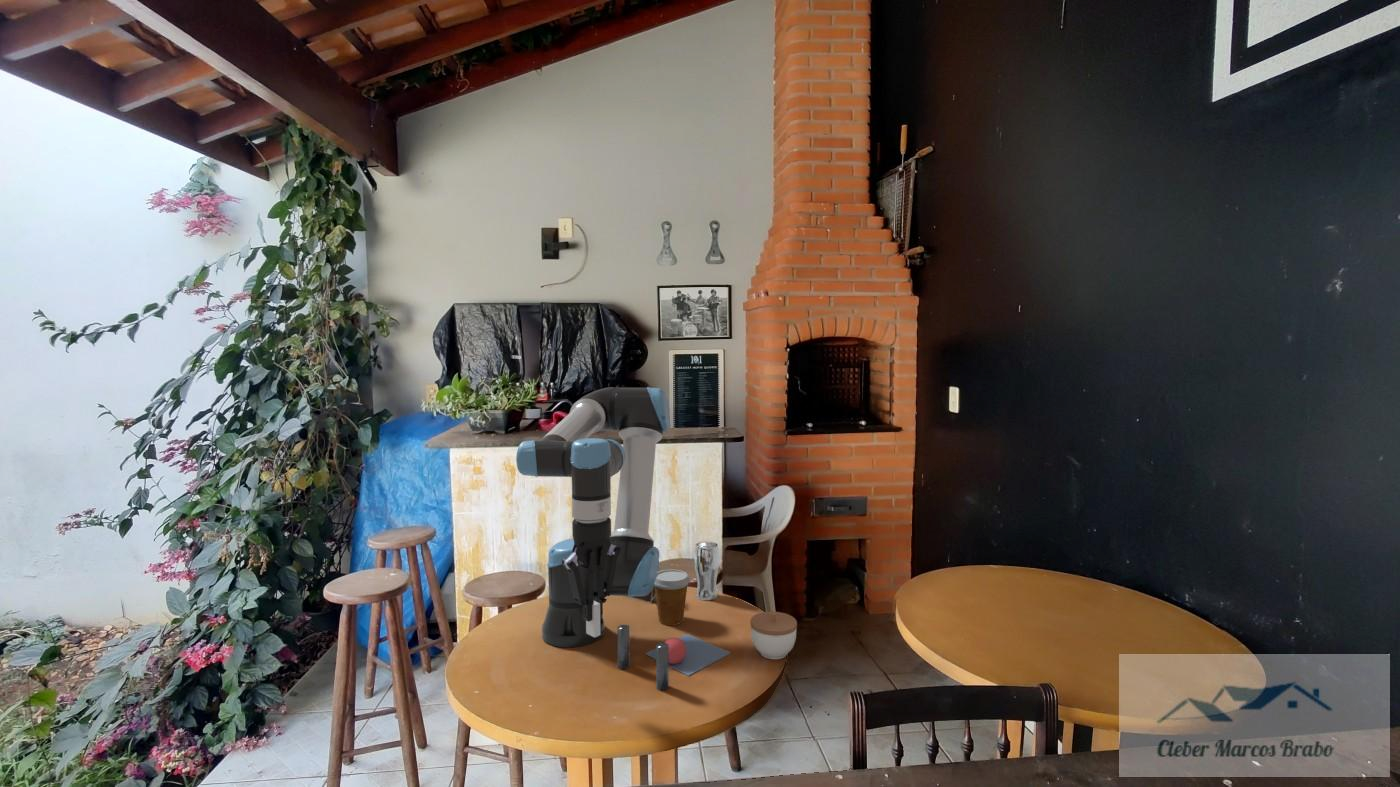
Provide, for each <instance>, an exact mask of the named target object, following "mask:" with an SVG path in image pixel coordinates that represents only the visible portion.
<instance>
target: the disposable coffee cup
mask: <svg viewBox="0 0 1400 787" xmlns="http://www.w3.org/2000/svg"><path fill="white" fill-rule="evenodd" d="M689 583H690V578H689V576H688V573H687V572H686V571H683V570H681V569H671V568H670V569H663V570H660V571H659V572H657V577H656V580H655V584H654V585H655V593H656V595H655V600H656V608H657V615H658V621H659V623H660V624H662V625H664V624H666V626H675V625H674V624H677V625H679V624H678V623H680V624H681V623H683V622H682V621H684V614H685V606H686V600H687V599H686V598H687V592H688V586H689Z"/></svg>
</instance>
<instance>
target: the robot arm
mask: <svg viewBox="0 0 1400 787" xmlns="http://www.w3.org/2000/svg"><path fill="white" fill-rule="evenodd" d="M669 411H670V410H669V404H668V399H667V395H666V392H665V391H664V390H663V389H661V388H659V387H649V386H647V387H615V386H614V387H613V386H611V387H610V386H609V387H604V388H600V389H597V390H594V391H592V392H590V393H588V394H585V395H584V396H581V398H579V399H578V400H577V401H575V402H574V403H573V405H572V406H571V408H570V410H569V413H568V414H567V415H566V416H565V417H564V418H562V420H561V421H559V422H558V423H557V424H556V425H555V426H553V428H552V429H551V430H549V431H548V433H546V434H545V435H544V436H543V437H542V438H541V439H540V440H535V439H532V440H524V441H522V442H521V443H520V444H519V445H518V447H517V450H516V451H517V452H516V457H515V458H516V460H515V461H516V462H515V463H516V468H517V471H518V473H520V474H521V475H523V476H530V477H531V476H532V477H536V478H538V477H546V478H547V477H551V478H552V477H555V478H556V477H557V478H558V477H559V478H566V477H567V478H571V517H572V519H573V520H572V521H571V522H572V523H571V524H572V527H571V528H572V533H571V534H572V537H571V538H567V539H564V540H561V541H559V542H557V543H555V544H554V545H552V546H551V547H550V549H549V551H548V560H547V562H548V563H547V570H548V571H547V573H548V574H547V576H548V579H547V580H548V606H547V610H546V614H545V617H544V620H543V624H542V625H541V626H542V627H541V638H542V639H543V641H544V642H545V643H547V644H548V645H551V646H556V647H561V648H572V647H573V648H575V647H581V646H585V645H589V644H592V643H593V642H596V641H598V640H599V639H601V637H603V635H604V634H605V621H604V618H603V613H604V606H603V605H604V604H605V603H606V602H607V598H606V597H610V596H621V597H626V596H629V597H628V598H630V597H633V596H646V595H648V594H649V593H650V592H651V590H652V589H653V586H654V584H655V580H656V577H657V572H658V567H659V568H660V566H659V565H660V550H659V548H658V547H656V546H654V542H655V541H654V539H653V538H652V537H651V535H650V533H649V529H650V518H651V504H652V496H653V494H652V493H653V483H654V481H653V480H654V473H655V472H654V468H655V458H656V448H657V443H659V442H660V441H661V440H662V439H663V433H664V432H665V433H666V432H667V431H669V430H670V412H669ZM599 431H618V436H619V437H620V438H621V440H622V441H623V442H622V443H623V444H621V443H619V441H617V440H615V439H611V438H610V439H609V438H606V439H605V438H600V437H599V438H598V437H591V438H589V437H590V436H591V435H594V434H596V433H599ZM618 473H619V480H618V492H617V499H616V509H615V519H614V528H613V531H612V519H611V518H610V517H611V515H612V506H611V505H612V504H611V503H612V501H611V500H612V499H611V498H612V497H611V496H612V495H611V494H612V493H611V492H612V491H611V486H612V485H611V482H612V481H611V479H612V477H614V476H615V475H616V474H618Z"/></svg>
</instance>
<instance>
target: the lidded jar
mask: <svg viewBox="0 0 1400 787" xmlns="http://www.w3.org/2000/svg"><path fill="white" fill-rule="evenodd" d="M749 621H750V634H751V640H752V643H753V646H754V647H755V649H756V651H758V652H759V653H760V655H761V656H762V657H763V658H764V659H768V660H781V659H784V658H785V657H786V656H787V655H788V654H789V653H790V652H791V651H792V650H793V648H794V646H795V642H796V639H797V628H798V621H797V618H795V617H794V616H792V615H790V614H788V613H786V612H780V611H763V612H758V613H756V614H754V615H753V616H752V617H751V618H750V620H749Z"/></svg>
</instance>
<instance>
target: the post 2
mask: <svg viewBox="0 0 1400 787" xmlns="http://www.w3.org/2000/svg"><path fill="white" fill-rule="evenodd" d="M655 647H656V648H655V649H656V660H655V661H656V662H655V663H656V664H655V666H656V668H655V669H656V670H655V671H656V673H655V674H656V675H655V676H656V677H655V678H656V680H655V683H656V684H655V685H656V690H657V691H659V692H660V691H661V692H663V691H664V692H665V691H668V690H669V687H670V669H669V668H670V667H669V645H668V644H667V643H665V642H659V643H657V644H655Z"/></svg>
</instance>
